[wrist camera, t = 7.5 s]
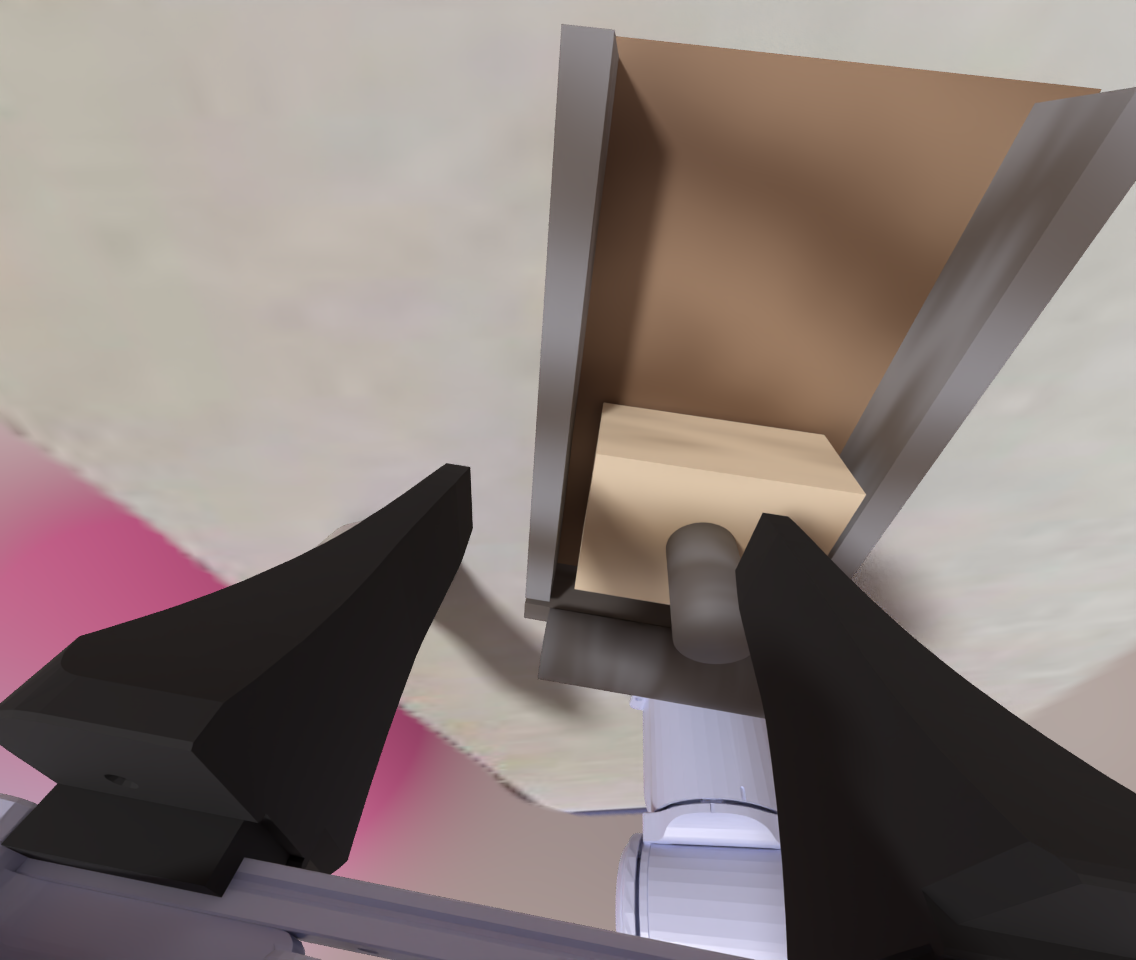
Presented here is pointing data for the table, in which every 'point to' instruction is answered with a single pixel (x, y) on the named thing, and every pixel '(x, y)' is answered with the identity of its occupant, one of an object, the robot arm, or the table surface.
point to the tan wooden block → (700, 513)
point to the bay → (787, 284)
